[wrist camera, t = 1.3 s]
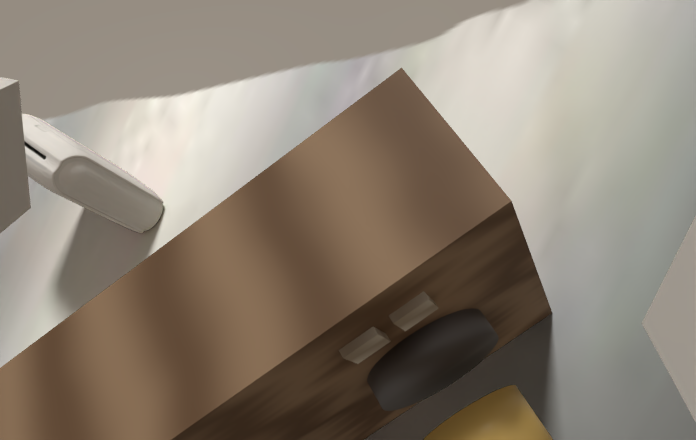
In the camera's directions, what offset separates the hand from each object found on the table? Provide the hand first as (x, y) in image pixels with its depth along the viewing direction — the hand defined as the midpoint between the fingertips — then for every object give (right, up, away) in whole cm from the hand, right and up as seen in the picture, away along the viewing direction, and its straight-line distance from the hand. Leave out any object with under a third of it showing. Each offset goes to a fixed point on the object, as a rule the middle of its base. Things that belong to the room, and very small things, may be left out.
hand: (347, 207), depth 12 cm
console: (0, -12, +31) cm, 34 cm away
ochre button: (+8, -12, +20) cm, 24 cm away
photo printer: (-21, +2, +46) cm, 50 cm away
